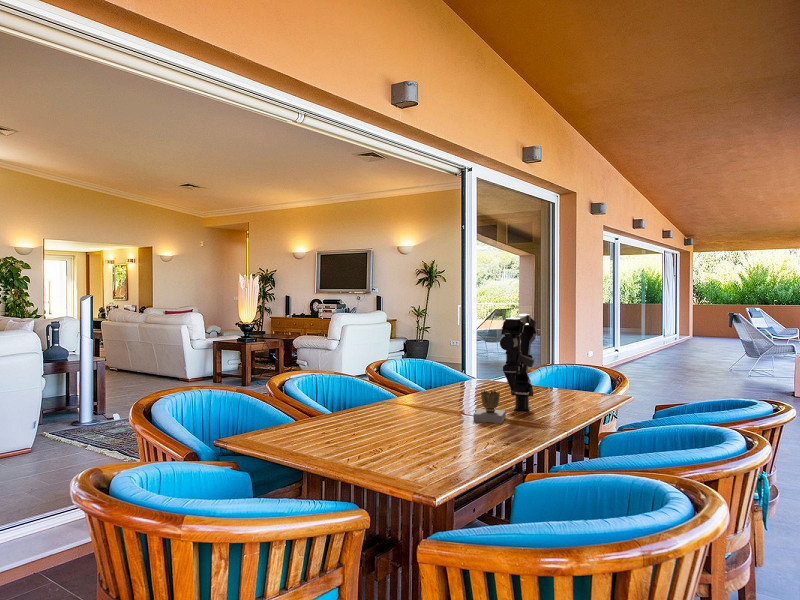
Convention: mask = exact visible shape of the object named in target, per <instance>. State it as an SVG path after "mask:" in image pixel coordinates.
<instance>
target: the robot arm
mask: <svg viewBox="0 0 800 600" xmlns="http://www.w3.org/2000/svg"><path fill="white" fill-rule="evenodd" d="M502 323H503V324H502V328H501V333H500V334H501V336H502V335H504V336H502V337H501V339H500V341H499V346H500V347H501V349H502V350H503V351H505V356H506V357H505V358H506V359H505V364H503V366H502V372H503V374H504V376H505V378H506V381H507V384H508V386H509V389H510V394H511V396H515V398H514V399H515V400H514V401H515V403H514V404H515V405H514V408H513V411H522V412H530V410H531V407H529V406H530V405H529V404H530V397H534V388H533V385H532V381H531V379H530V376H529V368H531V369H532V368H533V367H534V364H535V361H536V360H535V358H533V355H532V354H531V348H532V343H533V342H534V341H535V340H536V337H537V334H538V325H537V321H535V320H534V319H533V318H532V317H531V314H529V313H519V314H517V316H515V317H506V318H505V319H504V320H503V322H502Z"/></svg>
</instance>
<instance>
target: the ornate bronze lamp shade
mask: <svg viewBox="0 0 800 600" xmlns="http://www.w3.org/2000/svg"><path fill="white" fill-rule="evenodd" d="M480 395H481V403H482V406H483V407H484V409H486V412H488V413H493V412H495V410H496V408H497V407H498V406H499V402H500V395H501V393H500V391H496V390H494V391H493V390H490V392H488V390H483V391H480Z"/></svg>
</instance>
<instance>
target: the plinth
mask: <svg viewBox="0 0 800 600" xmlns="http://www.w3.org/2000/svg"><path fill="white" fill-rule="evenodd" d="M506 413H507V411H506V410H503V409H495V412H493V413H488V412H486V408H478V409H476V411H475V412H474V413H473V423H486V422H493V423H492V424H501V423H502V422H505V420H506V415H507V414H506ZM504 419H505V420H504ZM502 424H503V423H502Z"/></svg>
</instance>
